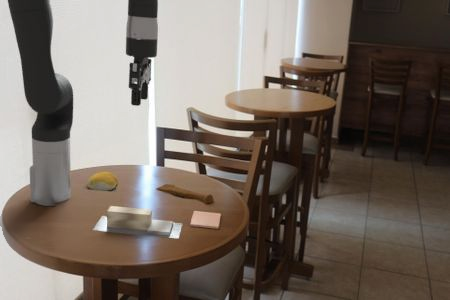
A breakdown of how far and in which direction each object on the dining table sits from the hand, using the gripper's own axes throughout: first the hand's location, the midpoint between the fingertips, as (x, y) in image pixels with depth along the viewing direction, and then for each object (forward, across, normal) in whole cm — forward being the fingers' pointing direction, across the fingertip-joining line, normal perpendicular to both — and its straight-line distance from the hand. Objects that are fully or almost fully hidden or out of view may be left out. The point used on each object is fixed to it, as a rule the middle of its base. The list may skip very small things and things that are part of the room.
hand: (139, 102), depth 118 cm
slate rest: (+28, +15, +4) cm, 32 cm away
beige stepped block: (+27, +15, +4) cm, 31 cm away
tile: (+28, +8, +16) cm, 33 cm away
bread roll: (+28, -11, -12) cm, 33 cm away
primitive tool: (+29, -9, +12) cm, 32 cm away
